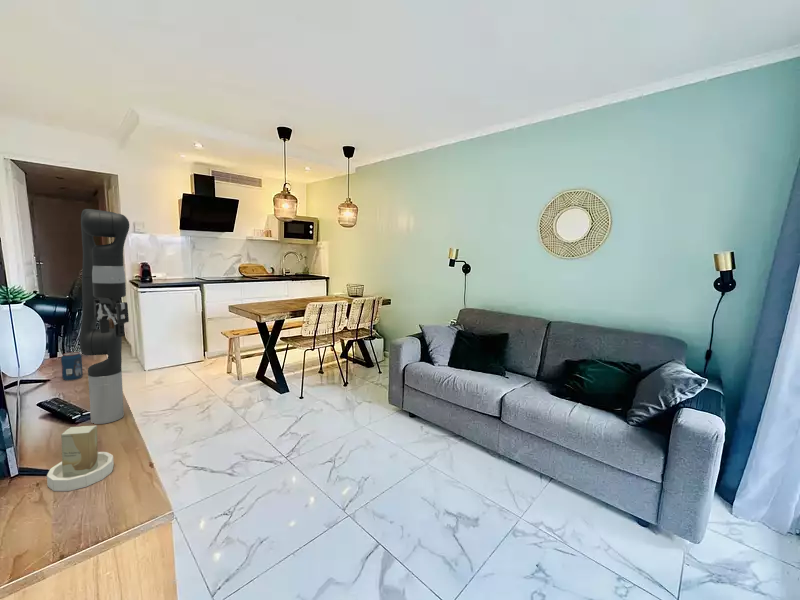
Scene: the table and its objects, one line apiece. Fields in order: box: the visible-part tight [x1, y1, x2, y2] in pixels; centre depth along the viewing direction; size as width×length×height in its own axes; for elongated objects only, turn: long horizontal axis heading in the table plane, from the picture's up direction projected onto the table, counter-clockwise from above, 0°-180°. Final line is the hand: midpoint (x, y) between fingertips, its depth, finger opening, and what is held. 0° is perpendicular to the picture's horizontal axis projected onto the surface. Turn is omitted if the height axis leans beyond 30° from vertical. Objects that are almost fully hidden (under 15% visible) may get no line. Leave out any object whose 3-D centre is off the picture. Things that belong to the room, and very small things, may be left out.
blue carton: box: [60, 351, 84, 382], centre depth 163 cm, size 7×7×12 cm
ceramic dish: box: [46, 451, 115, 492], centre depth 95 cm, size 13×13×3 cm
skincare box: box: [60, 424, 99, 477], centre depth 95 cm, size 6×4×12 cm
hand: (111, 334), depth 106 cm, fingers open, 8 cm apart
